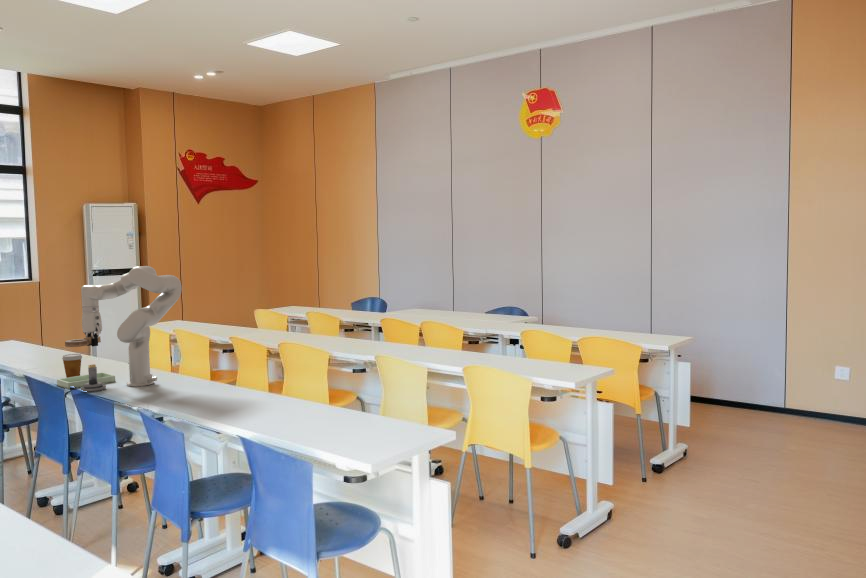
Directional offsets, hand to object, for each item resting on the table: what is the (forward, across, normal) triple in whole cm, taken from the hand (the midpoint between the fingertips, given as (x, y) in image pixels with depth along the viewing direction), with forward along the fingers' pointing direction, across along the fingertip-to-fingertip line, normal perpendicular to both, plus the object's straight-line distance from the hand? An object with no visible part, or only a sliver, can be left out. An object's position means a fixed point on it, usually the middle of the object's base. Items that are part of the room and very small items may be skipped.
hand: (92, 345), depth 349 cm
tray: (+19, +2, +2) cm, 20 cm away
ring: (-1, 0, +5) cm, 5 cm away
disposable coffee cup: (+20, +24, -4) cm, 31 cm away
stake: (+19, -15, +10) cm, 26 cm away
